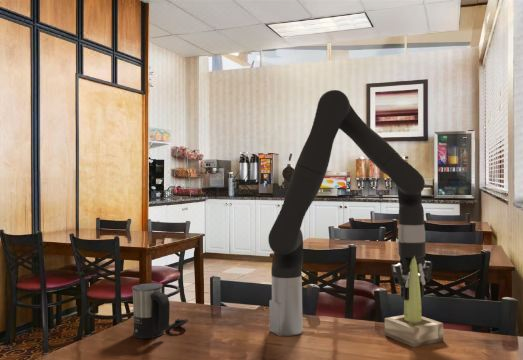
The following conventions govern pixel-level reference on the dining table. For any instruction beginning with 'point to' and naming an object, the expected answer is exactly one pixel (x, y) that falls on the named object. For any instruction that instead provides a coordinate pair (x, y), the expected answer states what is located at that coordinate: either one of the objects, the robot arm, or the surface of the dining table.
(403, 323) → the socket block
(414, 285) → the tube
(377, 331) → the dining table surface
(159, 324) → the milk frother
